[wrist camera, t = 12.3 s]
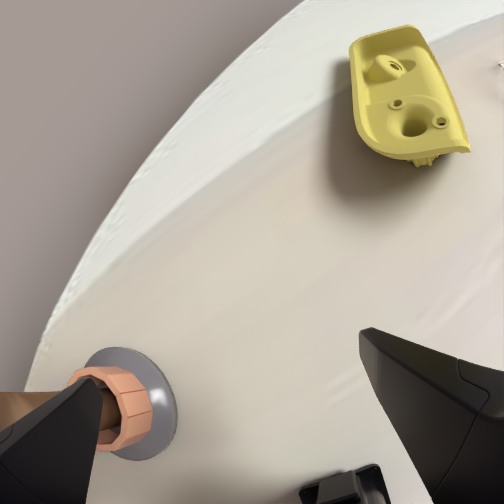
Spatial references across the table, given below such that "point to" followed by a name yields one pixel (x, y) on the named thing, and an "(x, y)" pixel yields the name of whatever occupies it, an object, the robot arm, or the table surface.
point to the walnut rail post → (21, 403)
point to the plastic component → (403, 98)
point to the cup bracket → (133, 402)
